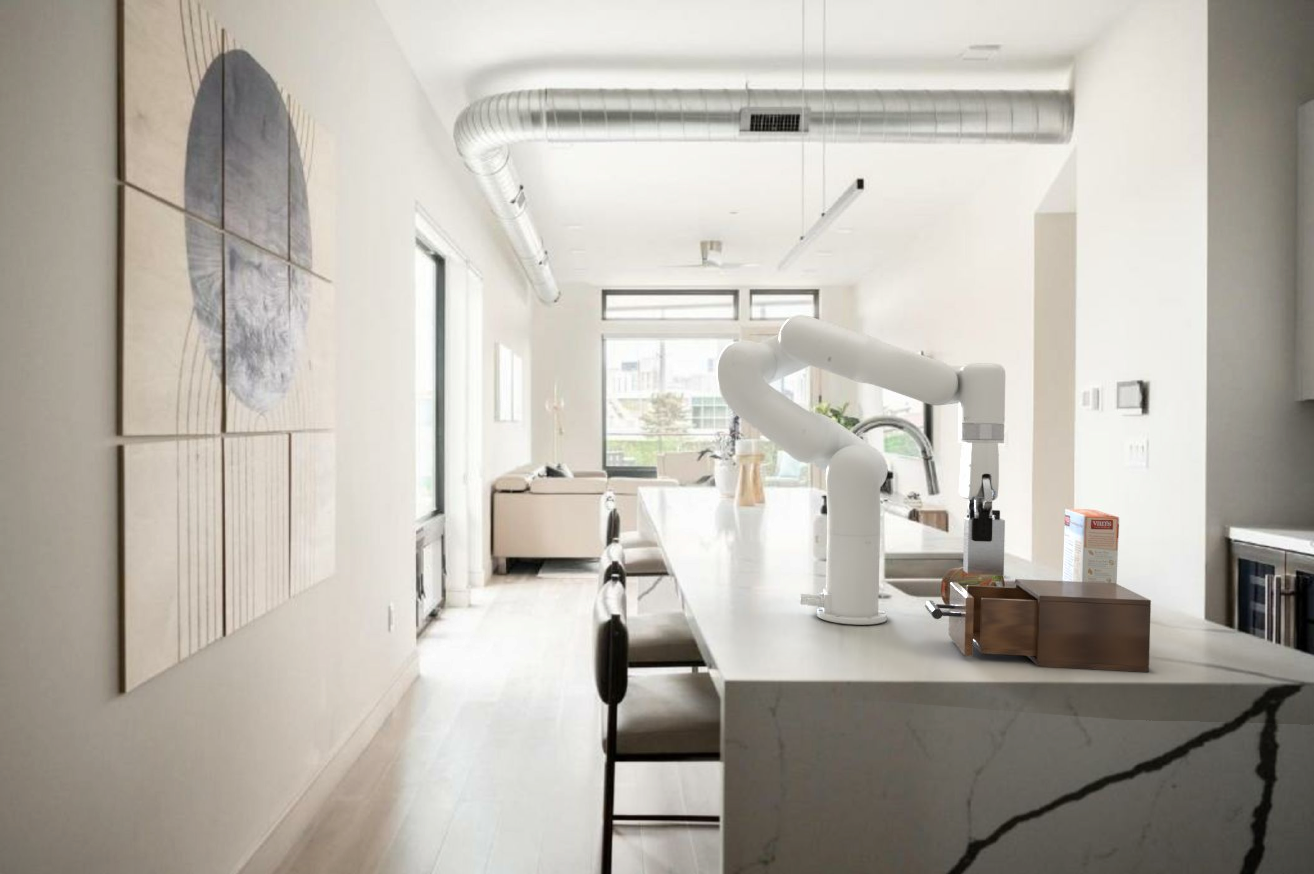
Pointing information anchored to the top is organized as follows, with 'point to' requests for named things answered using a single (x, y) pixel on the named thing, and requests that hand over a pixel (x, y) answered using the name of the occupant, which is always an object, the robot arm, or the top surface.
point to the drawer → (990, 619)
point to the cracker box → (1090, 546)
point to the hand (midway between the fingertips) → (979, 538)
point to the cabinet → (1090, 625)
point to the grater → (984, 548)
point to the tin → (967, 581)
